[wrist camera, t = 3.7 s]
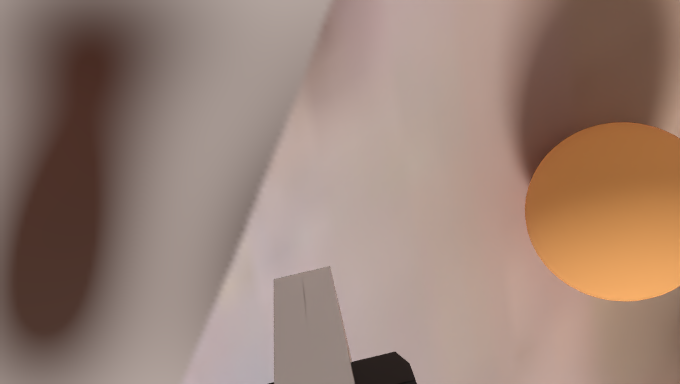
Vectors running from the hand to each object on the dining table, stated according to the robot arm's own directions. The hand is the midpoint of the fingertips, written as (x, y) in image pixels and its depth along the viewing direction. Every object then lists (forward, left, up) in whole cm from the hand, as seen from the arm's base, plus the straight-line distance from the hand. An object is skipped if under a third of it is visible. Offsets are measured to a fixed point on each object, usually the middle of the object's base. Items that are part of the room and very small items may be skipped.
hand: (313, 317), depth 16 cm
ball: (-10, 0, -3) cm, 10 cm away
